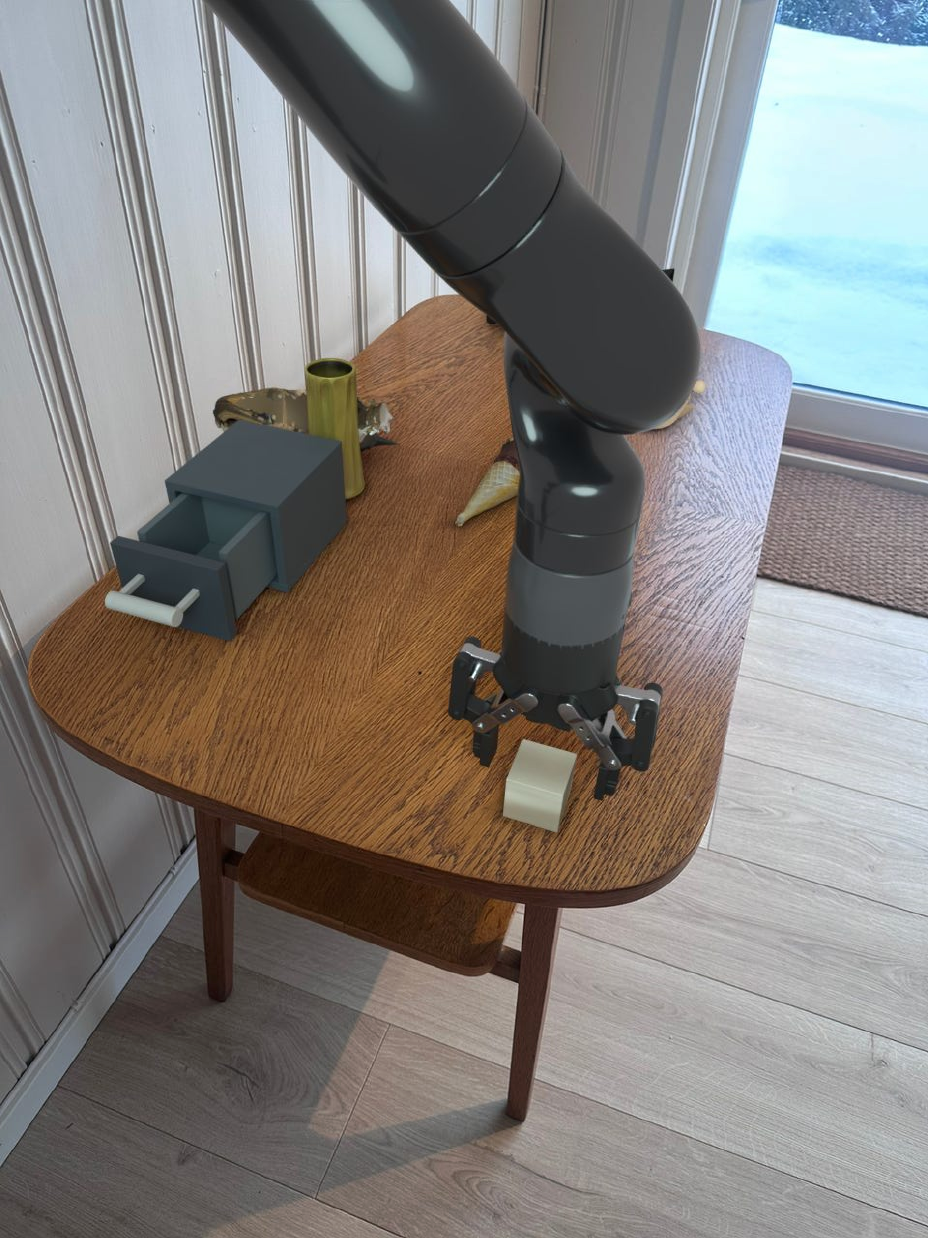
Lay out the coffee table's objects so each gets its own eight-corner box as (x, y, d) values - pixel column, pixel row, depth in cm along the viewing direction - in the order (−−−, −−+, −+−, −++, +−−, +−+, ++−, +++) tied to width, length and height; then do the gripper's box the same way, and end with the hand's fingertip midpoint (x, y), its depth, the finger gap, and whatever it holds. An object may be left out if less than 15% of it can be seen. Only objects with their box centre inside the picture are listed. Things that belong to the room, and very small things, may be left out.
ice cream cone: (432, 492, 94) (513, 418, 101) (439, 532, 98) (515, 458, 105) (479, 512, 91) (558, 434, 98) (484, 552, 95) (559, 475, 103)
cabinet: (287, 593, 85) (277, 506, 79) (182, 565, 88) (164, 480, 82) (347, 522, 95) (342, 440, 89) (250, 500, 98) (238, 419, 91)
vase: (357, 504, 97) (351, 382, 88) (303, 498, 98) (292, 377, 89) (370, 476, 102) (365, 358, 93) (318, 471, 103) (309, 353, 93)
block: (557, 833, 64) (563, 796, 62) (502, 816, 65) (506, 779, 63) (571, 790, 67) (577, 754, 65) (518, 775, 68) (522, 738, 66)
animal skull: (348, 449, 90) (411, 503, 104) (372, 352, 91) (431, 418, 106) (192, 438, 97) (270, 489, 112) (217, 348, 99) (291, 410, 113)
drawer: (203, 674, 75) (187, 601, 70) (97, 643, 77) (75, 570, 72) (295, 567, 87) (288, 498, 82) (201, 543, 89) (189, 475, 84)
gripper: (435, 610, 53) (434, 785, 63) (672, 669, 49) (629, 843, 60) (476, 544, 58) (469, 715, 69) (691, 592, 55) (649, 764, 65)
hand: (543, 774), depth 64 cm, fingers open, 8 cm apart
